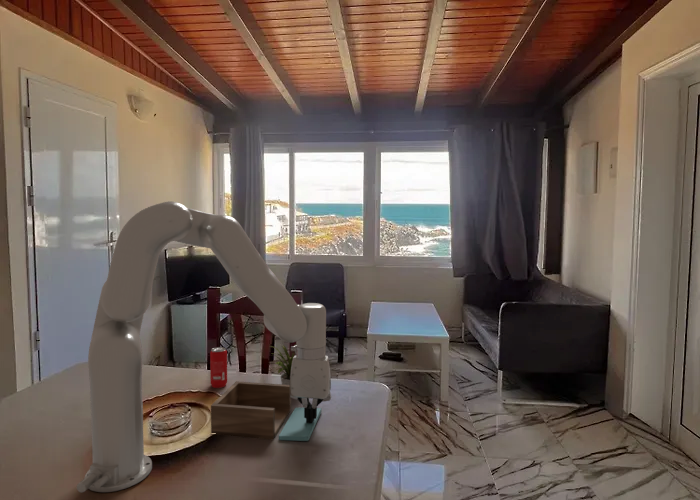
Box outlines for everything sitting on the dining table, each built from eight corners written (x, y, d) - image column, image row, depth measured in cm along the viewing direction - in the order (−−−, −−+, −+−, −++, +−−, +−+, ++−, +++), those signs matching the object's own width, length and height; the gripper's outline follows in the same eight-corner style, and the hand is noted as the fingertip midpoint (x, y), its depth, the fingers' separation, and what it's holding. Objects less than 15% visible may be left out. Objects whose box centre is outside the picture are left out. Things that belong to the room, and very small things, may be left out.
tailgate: (278, 440, 106) (308, 440, 105) (278, 436, 106) (308, 436, 105) (295, 410, 122) (321, 411, 121) (295, 407, 122) (321, 408, 121)
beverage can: (207, 387, 139) (206, 350, 138) (216, 381, 144) (216, 346, 143) (221, 389, 137) (221, 352, 136) (230, 383, 142) (230, 347, 141)
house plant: (256, 402, 128) (256, 348, 127) (275, 384, 142) (275, 335, 140) (301, 408, 125) (302, 352, 124) (316, 389, 138) (317, 339, 137)
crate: (273, 441, 106) (273, 410, 106) (211, 436, 108) (210, 405, 108) (290, 412, 122) (290, 385, 121) (236, 408, 124) (236, 381, 123)
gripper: (278, 354, 109) (278, 425, 110) (337, 358, 107) (336, 430, 108) (286, 345, 116) (286, 412, 118) (342, 349, 114) (341, 416, 116)
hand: (310, 420), depth 113 cm, fingers closed
